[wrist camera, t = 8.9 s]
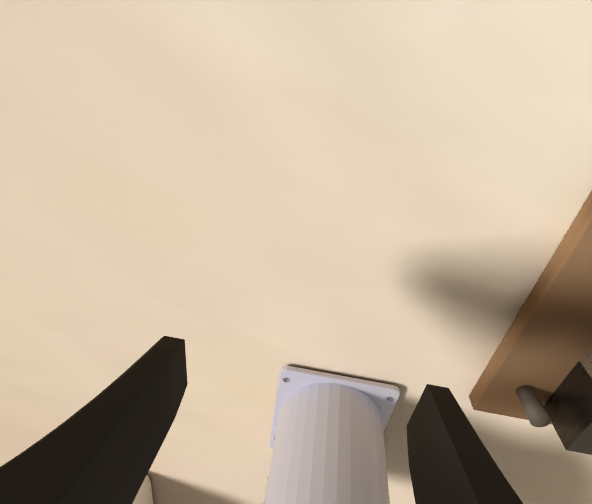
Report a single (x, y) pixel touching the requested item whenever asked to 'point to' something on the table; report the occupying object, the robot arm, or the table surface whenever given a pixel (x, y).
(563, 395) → the lever door handle
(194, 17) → the table surface
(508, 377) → the tool board
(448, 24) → the table surface
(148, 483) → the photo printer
